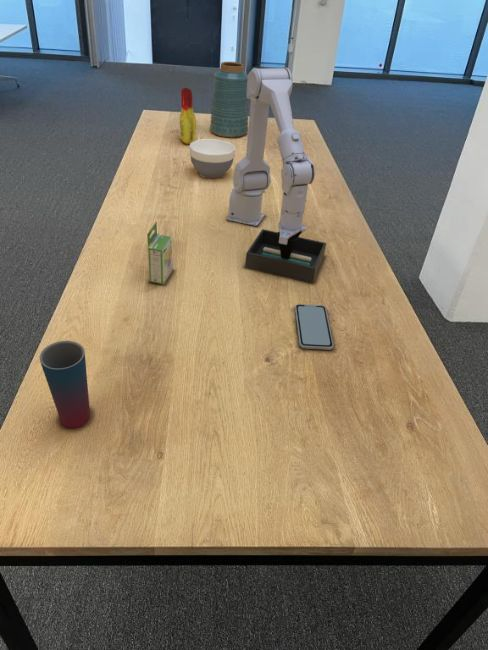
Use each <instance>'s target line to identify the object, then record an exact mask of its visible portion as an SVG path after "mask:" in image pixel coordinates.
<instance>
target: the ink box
mask: <svg viewBox="0 0 488 650" xmlns="http://www.w3.org/2000/svg"><path fill="white" fill-rule="evenodd" d="M157 223H158V222H157V221H155V222H154V224H153V225H152V227H151V228H150V229H149V231H147V233H146V241H147V257H148V258H147V259H148V260H147V261H148V281H149V283H153V284H157V285H162V286H164V285H166V282H167V280H169V278H170V276H171V274H172V272H173V271H174V266H173V265H174V263H173V262H174V261H173V237H172V236H169V235H163V234H158V225H157Z"/></svg>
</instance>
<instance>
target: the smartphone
mask: <svg viewBox="0 0 488 650" xmlns="http://www.w3.org/2000/svg"><path fill="white" fill-rule="evenodd" d="M294 312H295V320H296V328H297V336H298V344H299V347H300V348H302V349H305V350H309V349H310V350H326V351H328V350H332V349H333V348H334V339H333V335H332V331H331V325H330V321H329V315H328V312H327V307H326V306H325V305H323V304H321V305H320V304H303V303H297V304H295V306H294Z"/></svg>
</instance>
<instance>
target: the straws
mask: <svg viewBox="0 0 488 650" xmlns="http://www.w3.org/2000/svg"><path fill="white" fill-rule="evenodd" d="M262 255H264V256H268V257H272V258H277V259H281V260H286V261H290V262H294V263H299V264H303V265H307V266H310V264H311V260H312V259H311V257H307V256H303V255H298V254H294V253H291V255H290V257H289V259H284V258H281V253H280V250H276V249H272V248H267V247H264V248H263V253H262Z"/></svg>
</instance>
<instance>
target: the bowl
mask: <svg viewBox="0 0 488 650" xmlns="http://www.w3.org/2000/svg"><path fill="white" fill-rule="evenodd" d="M188 147H189V156H190V162H191V163H192V166H193V168H194V169H195V170H196V171H197V173H198V174H199V176H201V177H203V178H206V179H219V178H223V177H224V176H225V174H226V173H227V172H229V171H230V169H231V167H232V165H233V163H234V159H235V157H236V146H235V145H234V144H233V143H231V142H229V141H226V140H223V139H217V138H203V139H195V141H194V142H192V143H191V144H189V146H188Z"/></svg>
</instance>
